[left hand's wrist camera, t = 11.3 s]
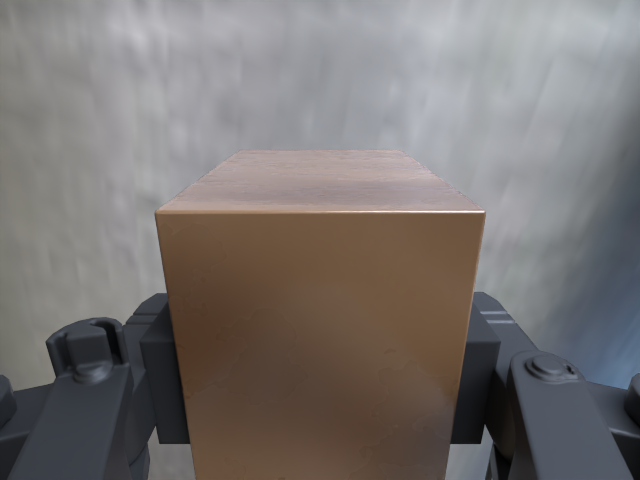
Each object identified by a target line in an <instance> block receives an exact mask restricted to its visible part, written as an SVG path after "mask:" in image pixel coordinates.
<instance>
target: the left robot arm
mask: <svg viewBox="0 0 640 480" xmlns="http://www.w3.org/2000/svg"><path fill="white" fill-rule="evenodd" d="M46 346H47V349H48V352H49V356H50V359H51V362H52V366H53V369H54V372H55V375H56V379H55V381H54V383H51V384H48V385H43V386H38V387H34V388H29V389H24V390H19V391H14V392H13V390H12V387H11V384H10V381H9V379H7V378H6V377H5V376H4V375H0V480H148V472H149V464H150V455H149V449H148V444H147V442H148V440H149V438H150V436H151V434H152V432H153V430H154V428H155V426H156V429H157V434H158V439H159V444H190V437H189V431H188V425H187V418H186V412H185V405H184V399H183V393H182V386H181V380H180V373H179V367H178V361H177V354H176V348H175V341H174V335H173V329H172V322H171V316H170V309H169V303H168V297H167V293H157V294H155V295H154V296H152V297H150V298H149V299H147V300H146V301H144V302H142V303H141V305H140V306H139V307H138V308H137V309H136V311H135V312H134V313H133V316H131V317H130V318H129V319H128V320H127V322H126V325H123V326H122V324H121V323H120V322H119V321H117V320H116V319H112V318H107V317H102V318H90V319H86V320H81V321H78V322H75V323H72V324H70V325H67V326H65V327H63V328H61V329H60V330H58V331H57V332H55V333H53V334H52V335H51V336H50V337H49V338H48V340H47V341H46ZM484 425H486V427H487V429H488V431H489V433H490V435H491V437H492V439H493V444H492V449H491V453H490V458H489V463H488V467H487V472H486V477H485V480H491V479H493V480H640V373H638V374H636V375H635V376H634V377H632V379H631V382H630V385H629V388H628V390H625V389H620V388H615V387H610V386H606V385H601V384H596V383H592V382H588V381H586V380H585V378H584V376H583V375H582V374H581V372H580V371H579V370H578V369H577V368H576V367H575V366H574V365H572V364H571V363H569V362H568V361H567V360H565V359H562V358H560V357H558V356H556V355H554V354H550V353H546V352H543V351H539V350H538V348H537V347H536V346H535V345H534V344H533V342H532V341H531V340H530V339H529V338H528V336H527V335H526V334H525V333H524V332H523V330H522V329H521V328H520V327H519V326H518V324H517V323H515V321H514V320H513V318H512V317H511V316H510V315H509V314H507V311H506V310H505V309H504V308H503V306H502V305H501V304H500V303H499V302H498V301H497V300H495V299H494V298H492V297H490V296H489V295H487V294H486V293H484V292H474V294H473V300H472V307H471V313H470V320H469V326H468V333H467V339H466V345H465V352H464V358H463V365H462V371H461V378H460V384H459V390H458V397H457V403H456V410H455V416H454V423H453V429H452V436H451V442H450V444H481V440H482V435H483V430H484Z"/></svg>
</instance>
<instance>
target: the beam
mask: <svg viewBox="0 0 640 480" xmlns="http://www.w3.org/2000/svg"><path fill="white" fill-rule="evenodd" d="M485 217H486V212H485V210H484V209H482V208H481V207H479V206H478V205H477V204H475V203H474V202H473V201H471V200H470V199H468V198H467V197H466V196H464V195H463V194H461V193H460V192H459V191H457V190H456V189H454V188H453V187H452V186H450V185H449V184H447V183H446V182H445V181H443V180H442V179H441V178H439V177H438V176H436V175H435V174H434V173H432V172H431V171H429V170H428V169H427V168H425V167H424V166H422V165H421V164H420V163H418V162H417V161H415V160H414V159H413V158H411V157H410V156H409V155H407V154H406V153H404V152H403V151H401V150H239V151H237V152H236V153H234V154H233V155H231V156H230V157H229V158H227V159H226V160H225V161H223V162H222V163H221V164H219V165H218V166H216V167H215V168H214V169H212V170H211V171H210V172H208V173H207V174H205V175H204V176H203V177H201V178H200V179H199V180H197V181H196V182H194V183H193V184H192V185H190V186H189V187H188V188H186V189H185V190H183V191H182V192H181V193H179V194H178V195H177V196H175V197H174V198H172V199H171V200H170V201H168V202H167V203H166V204H164V205H163V206H161V207H160V208H159V209H157V210H156V211H155V220H156V226H157V233H158V239H159V245H160V252H161V258H162V265H163V271H164V277H165V284H166V290H167V297H168V303H169V309H170V316H171V322H172V329H173V335H174V341H175V348H176V354H177V361H178V367H179V373H180V380H181V386H182V393H183V399H184V405H185V412H186V418H187V425H188V431H189V437H190V444H191V450H192V457H193V463H194V469H195V476H196V480H445V474H446V468H447V461H448V455H449V448H450V442H451V436H452V429H453V423H454V416H455V410H456V403H457V397H458V390H459V384H460V378H461V371H462V365H463V358H464V352H465V345H466V339H467V333H468V326H469V320H470V313H471V307H472V300H473V294H474V287H475V281H476V275H477V268H478V262H479V255H480V249H481V242H482V236H483V230H484V223H485Z"/></svg>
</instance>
